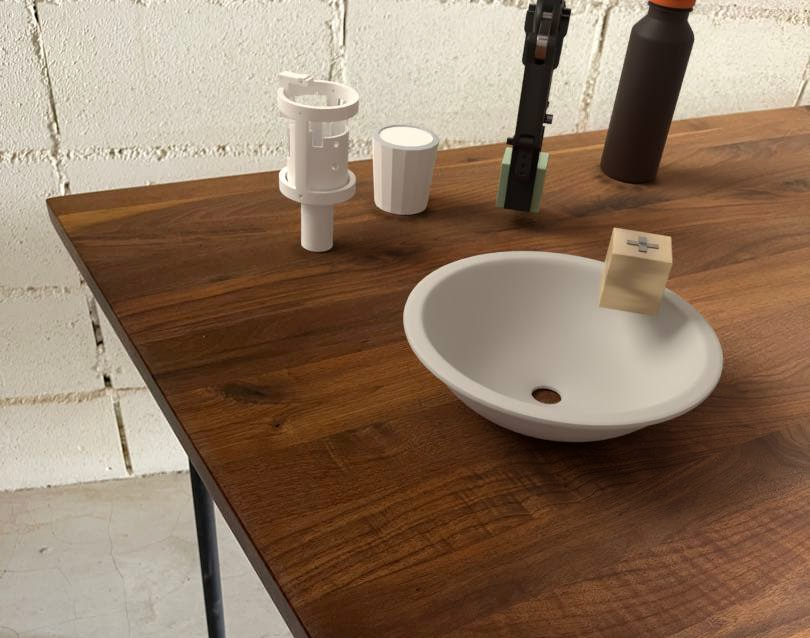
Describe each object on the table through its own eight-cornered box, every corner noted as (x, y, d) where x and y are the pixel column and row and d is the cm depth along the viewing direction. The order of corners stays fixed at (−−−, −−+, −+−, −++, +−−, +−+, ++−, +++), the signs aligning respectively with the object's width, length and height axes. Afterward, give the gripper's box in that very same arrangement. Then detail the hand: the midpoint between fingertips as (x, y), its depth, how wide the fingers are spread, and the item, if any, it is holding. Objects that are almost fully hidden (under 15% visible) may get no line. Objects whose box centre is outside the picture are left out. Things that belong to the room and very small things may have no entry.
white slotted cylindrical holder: (300, 221, 89) (299, 60, 79) (364, 238, 88) (372, 76, 77) (267, 250, 85) (262, 82, 74) (334, 268, 83) (338, 100, 73)
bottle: (602, 181, 103) (650, -17, 88) (595, 157, 107) (639, -34, 93) (660, 186, 103) (716, -10, 89) (651, 163, 108) (703, -27, 94)
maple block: (655, 289, 72) (671, 235, 68) (656, 317, 68) (673, 262, 65) (600, 279, 72) (613, 226, 69) (598, 307, 69) (612, 252, 66)
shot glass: (433, 219, 92) (440, 151, 87) (367, 215, 92) (371, 146, 87) (431, 191, 97) (438, 125, 92) (369, 186, 97) (372, 120, 92)
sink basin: (552, 294, 83) (567, 227, 78) (758, 431, 70) (790, 360, 66) (338, 366, 72) (340, 292, 67) (536, 544, 59) (556, 469, 54)
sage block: (542, 195, 94) (549, 152, 91) (538, 213, 91) (546, 168, 88) (500, 189, 95) (506, 146, 91) (495, 207, 91) (501, 162, 88)
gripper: (527, -91, 83) (493, 161, 99) (507, -51, 70) (472, 229, 87) (607, -81, 82) (560, 171, 98) (601, -40, 70) (548, 241, 86)
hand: (519, 198), depth 93 cm, fingers closed on sage block, 4 cm apart
